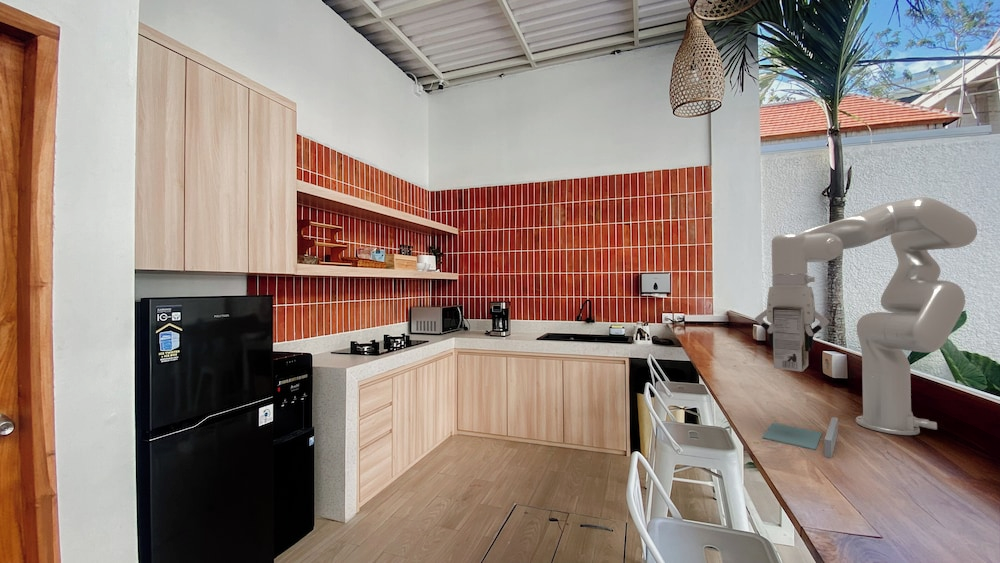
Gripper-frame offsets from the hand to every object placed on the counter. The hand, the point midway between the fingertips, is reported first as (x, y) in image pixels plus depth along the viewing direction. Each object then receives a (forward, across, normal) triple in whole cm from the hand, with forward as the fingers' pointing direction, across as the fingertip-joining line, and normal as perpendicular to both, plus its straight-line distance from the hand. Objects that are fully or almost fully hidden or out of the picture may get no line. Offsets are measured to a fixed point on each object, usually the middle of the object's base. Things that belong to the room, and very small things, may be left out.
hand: (790, 348), depth 104 cm
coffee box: (+5, 0, 0) cm, 5 cm away
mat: (+23, 0, 0) cm, 23 cm away
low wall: (+23, -8, 0) cm, 24 cm away
